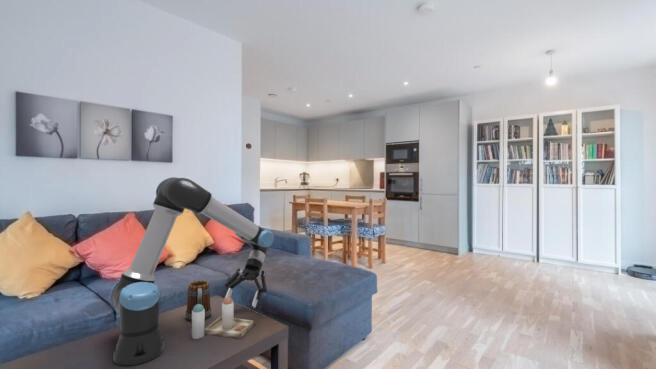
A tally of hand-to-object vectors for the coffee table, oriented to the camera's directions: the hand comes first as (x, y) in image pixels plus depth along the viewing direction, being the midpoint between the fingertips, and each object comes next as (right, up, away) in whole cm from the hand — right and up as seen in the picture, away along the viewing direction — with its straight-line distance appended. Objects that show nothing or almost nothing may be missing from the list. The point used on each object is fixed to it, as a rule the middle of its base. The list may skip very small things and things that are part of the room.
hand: (239, 304), depth 137 cm
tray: (-1, -7, -8) cm, 11 cm away
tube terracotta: (-2, -6, -8) cm, 10 cm away
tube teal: (-12, -7, -14) cm, 20 cm away
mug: (-18, -7, +1) cm, 19 cm away
